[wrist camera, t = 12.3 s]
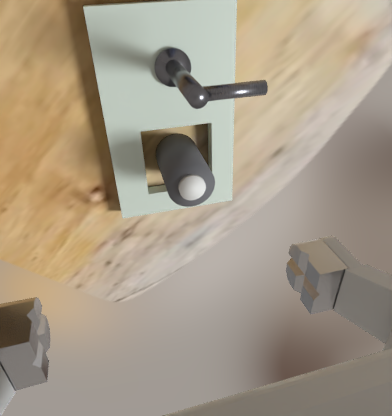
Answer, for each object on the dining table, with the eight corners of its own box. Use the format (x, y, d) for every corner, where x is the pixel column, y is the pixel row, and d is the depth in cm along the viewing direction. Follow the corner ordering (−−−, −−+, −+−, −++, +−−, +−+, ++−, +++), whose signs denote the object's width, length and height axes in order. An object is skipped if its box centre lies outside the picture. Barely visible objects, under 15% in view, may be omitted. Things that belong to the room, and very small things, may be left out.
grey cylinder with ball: (153, 136, 36) (166, 170, 30) (195, 131, 37) (216, 162, 31) (157, 174, 38) (170, 213, 32) (197, 169, 39) (216, 205, 33)
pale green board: (121, 210, 40) (122, 218, 38) (83, 5, 28) (83, 6, 27) (227, 193, 42) (231, 200, 41) (231, -4, 31) (236, -3, 29)
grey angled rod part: (156, 87, 32) (176, 124, 24) (152, 49, 30) (172, 75, 22) (226, 80, 33) (267, 113, 25) (227, 42, 31) (271, 66, 24)
